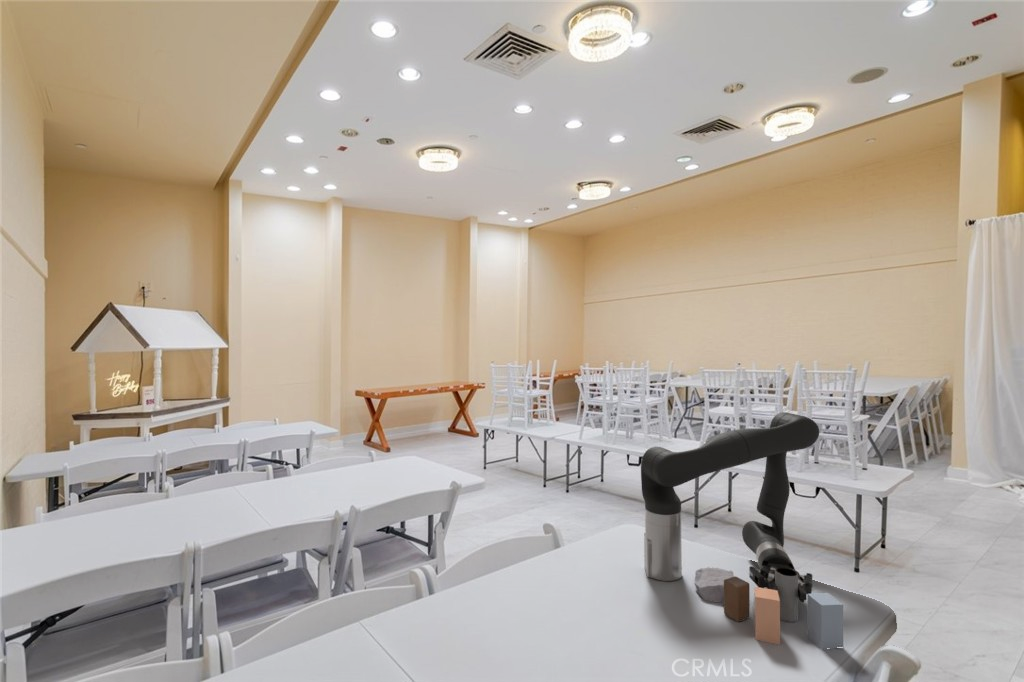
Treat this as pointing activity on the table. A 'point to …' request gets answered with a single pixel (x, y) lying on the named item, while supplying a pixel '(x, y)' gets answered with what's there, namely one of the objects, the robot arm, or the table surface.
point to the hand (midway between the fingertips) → (789, 595)
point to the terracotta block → (767, 615)
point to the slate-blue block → (825, 620)
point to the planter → (787, 593)
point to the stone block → (711, 583)
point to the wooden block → (736, 598)
